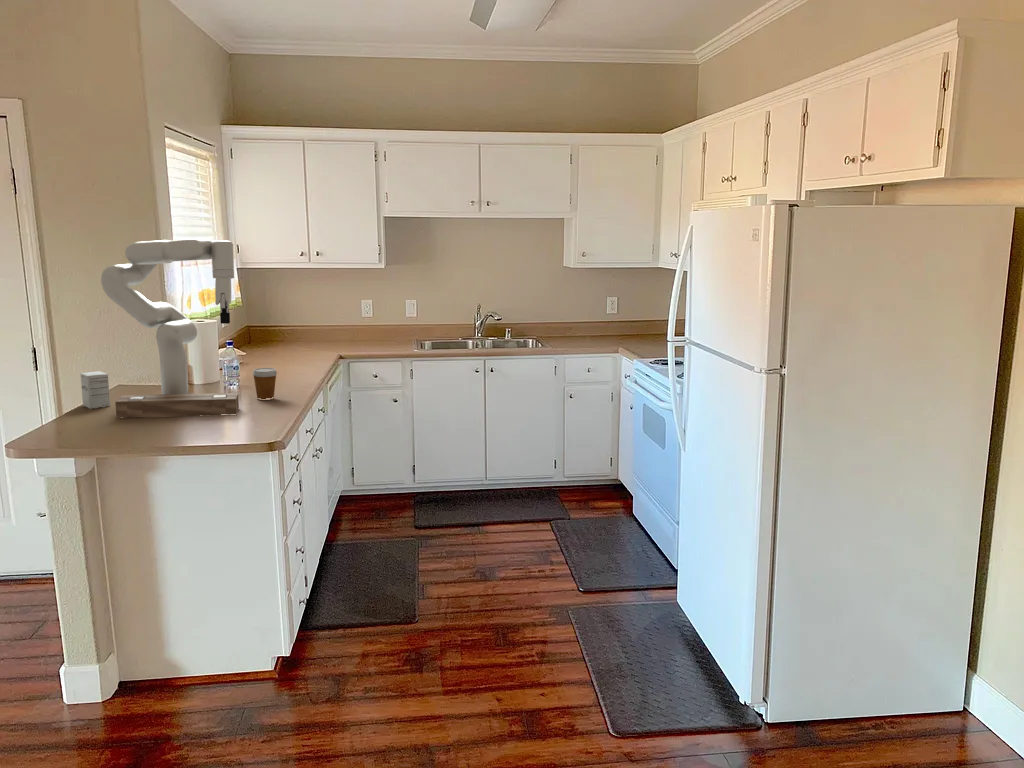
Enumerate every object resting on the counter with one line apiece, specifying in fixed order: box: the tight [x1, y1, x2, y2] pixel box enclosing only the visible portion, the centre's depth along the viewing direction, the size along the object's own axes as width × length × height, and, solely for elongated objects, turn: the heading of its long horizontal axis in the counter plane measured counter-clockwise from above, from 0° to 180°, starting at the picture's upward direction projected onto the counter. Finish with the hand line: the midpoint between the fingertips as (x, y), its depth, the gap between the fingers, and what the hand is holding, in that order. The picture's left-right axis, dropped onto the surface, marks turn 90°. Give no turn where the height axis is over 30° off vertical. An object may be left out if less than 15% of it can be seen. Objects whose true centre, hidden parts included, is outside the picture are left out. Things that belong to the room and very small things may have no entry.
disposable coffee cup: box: [252, 367, 278, 399], centre depth 305 cm, size 10×10×12 cm
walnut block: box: [115, 392, 240, 419], centre depth 278 cm, size 11×40×6 cm, turn 105°
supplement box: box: [80, 370, 111, 410], centre depth 284 cm, size 7×7×13 cm
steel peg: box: [129, 397, 145, 400], centre depth 274 cm, size 4×4×6 cm
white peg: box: [213, 395, 226, 398], centre depth 281 cm, size 4×4×6 cm
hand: (225, 323), depth 286 cm, fingers closed
